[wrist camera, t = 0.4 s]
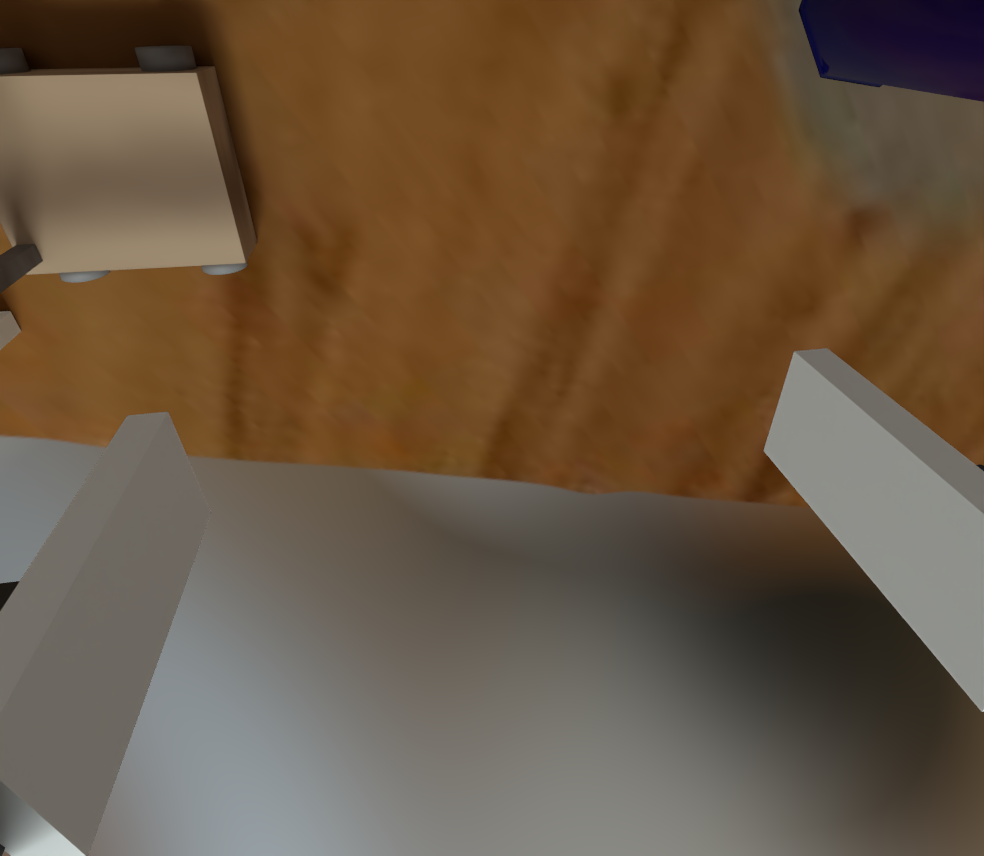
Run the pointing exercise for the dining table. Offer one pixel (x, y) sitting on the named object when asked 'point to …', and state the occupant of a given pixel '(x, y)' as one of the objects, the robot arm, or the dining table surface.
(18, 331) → the bay
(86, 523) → the robot arm
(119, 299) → the dining table surface
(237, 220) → the trolley
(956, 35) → the bottle
